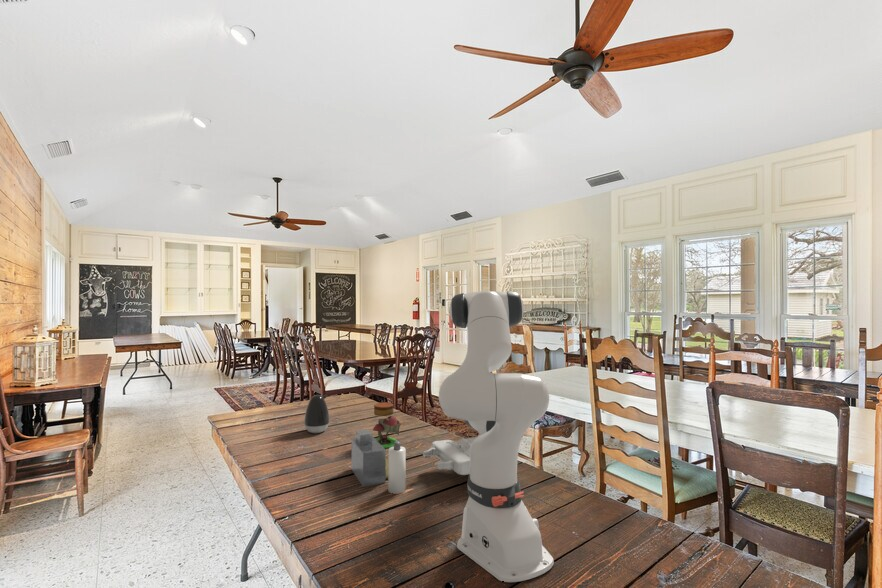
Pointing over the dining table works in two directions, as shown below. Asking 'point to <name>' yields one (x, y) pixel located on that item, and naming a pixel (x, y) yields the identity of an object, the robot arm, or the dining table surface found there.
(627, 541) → the dining table surface
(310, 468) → the dining table surface
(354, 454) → the motor
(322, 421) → the dark grey egg shape
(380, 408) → the mushroom figurine
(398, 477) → the white bottle
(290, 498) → the dining table surface
